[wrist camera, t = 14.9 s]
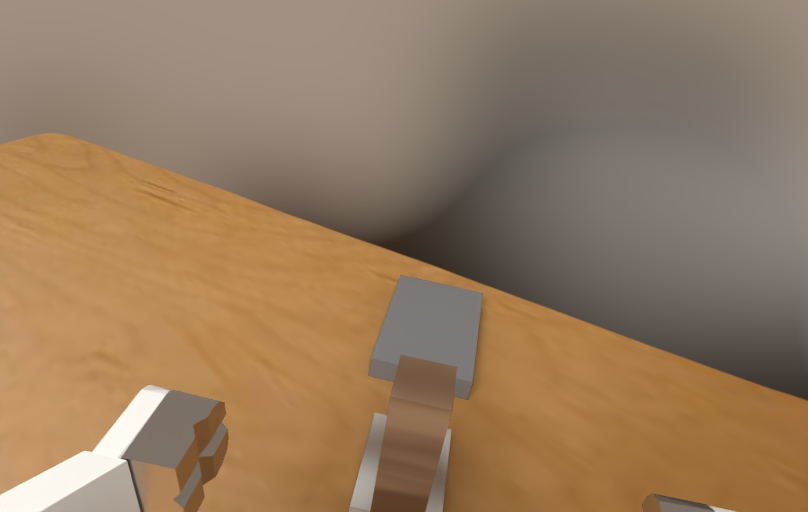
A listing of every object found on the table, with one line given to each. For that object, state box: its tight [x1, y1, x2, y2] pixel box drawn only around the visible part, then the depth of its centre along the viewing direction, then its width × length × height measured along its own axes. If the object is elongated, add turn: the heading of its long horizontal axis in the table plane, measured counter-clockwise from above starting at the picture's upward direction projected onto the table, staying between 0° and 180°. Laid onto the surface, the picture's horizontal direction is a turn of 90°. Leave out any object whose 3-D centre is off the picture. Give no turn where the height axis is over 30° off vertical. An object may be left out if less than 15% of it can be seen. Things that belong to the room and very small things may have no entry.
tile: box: [369, 275, 483, 400], centre depth 48 cm, size 2×8×12 cm
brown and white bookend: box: [349, 355, 457, 512], centre depth 32 cm, size 10×6×13 cm, turn 171°
